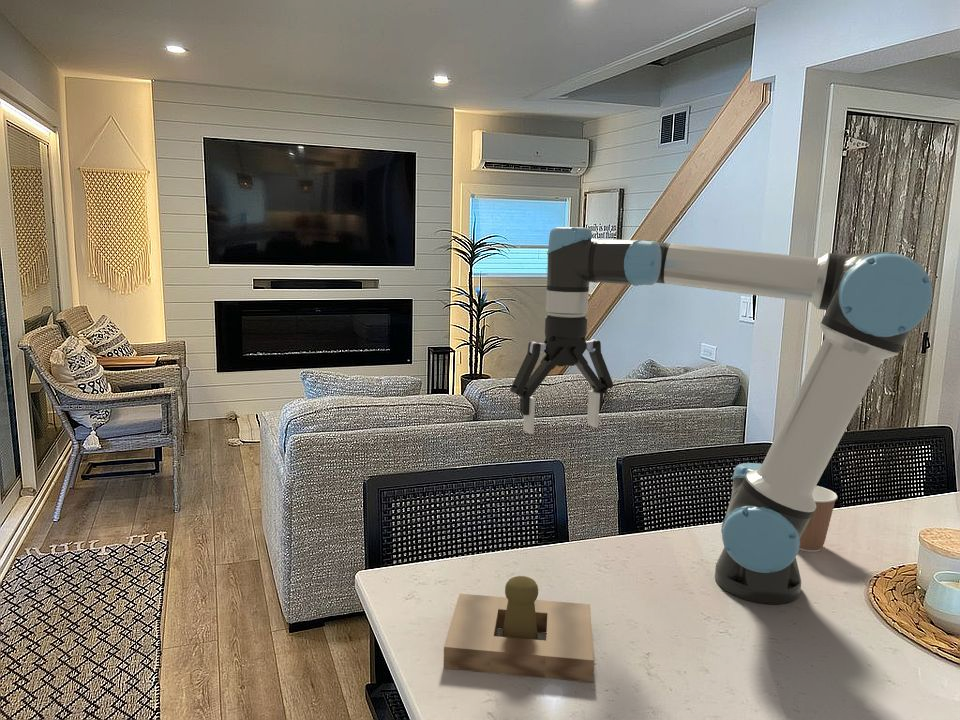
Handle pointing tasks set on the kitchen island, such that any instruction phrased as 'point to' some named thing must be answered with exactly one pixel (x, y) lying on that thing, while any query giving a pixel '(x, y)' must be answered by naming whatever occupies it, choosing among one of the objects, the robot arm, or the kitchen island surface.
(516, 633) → the cork
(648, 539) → the kitchen island surface
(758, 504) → the robot arm
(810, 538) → the coffee cup
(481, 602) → the wooden block with hole
